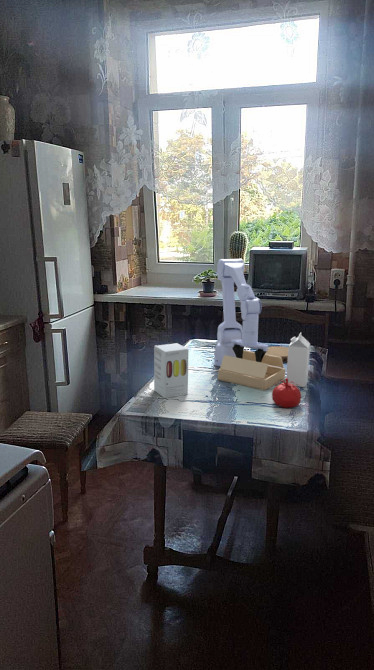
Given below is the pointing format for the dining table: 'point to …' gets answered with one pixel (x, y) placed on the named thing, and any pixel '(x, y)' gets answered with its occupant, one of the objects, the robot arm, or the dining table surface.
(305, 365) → the milk carton
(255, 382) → the carton
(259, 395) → the dining table surface
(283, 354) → the wood log slice
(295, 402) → the pomegranate
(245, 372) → the front flap
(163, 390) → the supplement box
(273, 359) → the back flap
